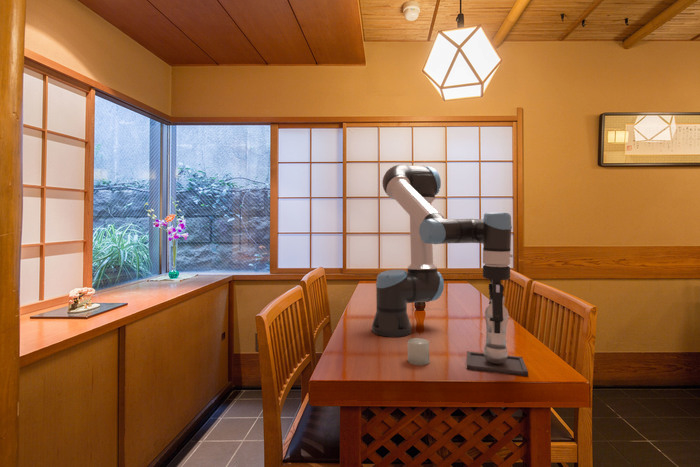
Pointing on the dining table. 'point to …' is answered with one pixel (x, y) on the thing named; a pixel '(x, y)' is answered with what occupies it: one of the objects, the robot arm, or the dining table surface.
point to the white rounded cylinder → (418, 351)
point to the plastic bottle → (491, 351)
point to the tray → (511, 366)
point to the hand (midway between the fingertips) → (495, 336)
